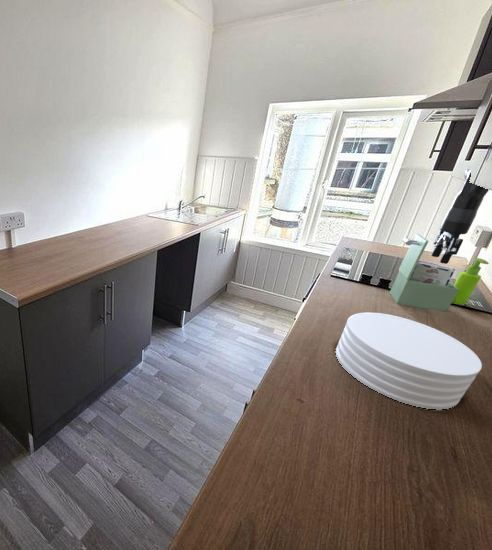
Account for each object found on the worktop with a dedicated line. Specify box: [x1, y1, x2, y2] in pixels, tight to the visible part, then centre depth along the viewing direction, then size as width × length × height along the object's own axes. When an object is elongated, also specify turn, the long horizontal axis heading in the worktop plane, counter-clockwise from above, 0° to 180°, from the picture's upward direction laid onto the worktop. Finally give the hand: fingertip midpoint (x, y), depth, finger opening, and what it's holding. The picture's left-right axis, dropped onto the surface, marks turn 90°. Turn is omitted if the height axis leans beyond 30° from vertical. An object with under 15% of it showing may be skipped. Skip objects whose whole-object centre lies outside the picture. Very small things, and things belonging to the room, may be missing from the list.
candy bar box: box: [409, 260, 456, 287], centre depth 122 cm, size 11×5×16 cm, turn 40°
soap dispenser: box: [451, 257, 490, 305], centre depth 123 cm, size 6×7×20 cm
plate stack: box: [334, 311, 483, 411], centre depth 84 cm, size 28×28×12 cm
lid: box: [398, 233, 430, 280], centre depth 122 cm, size 16×12×5 cm
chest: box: [389, 270, 459, 313], centre depth 124 cm, size 16×12×11 cm
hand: (438, 259), depth 118 cm, fingers open, 8 cm apart
